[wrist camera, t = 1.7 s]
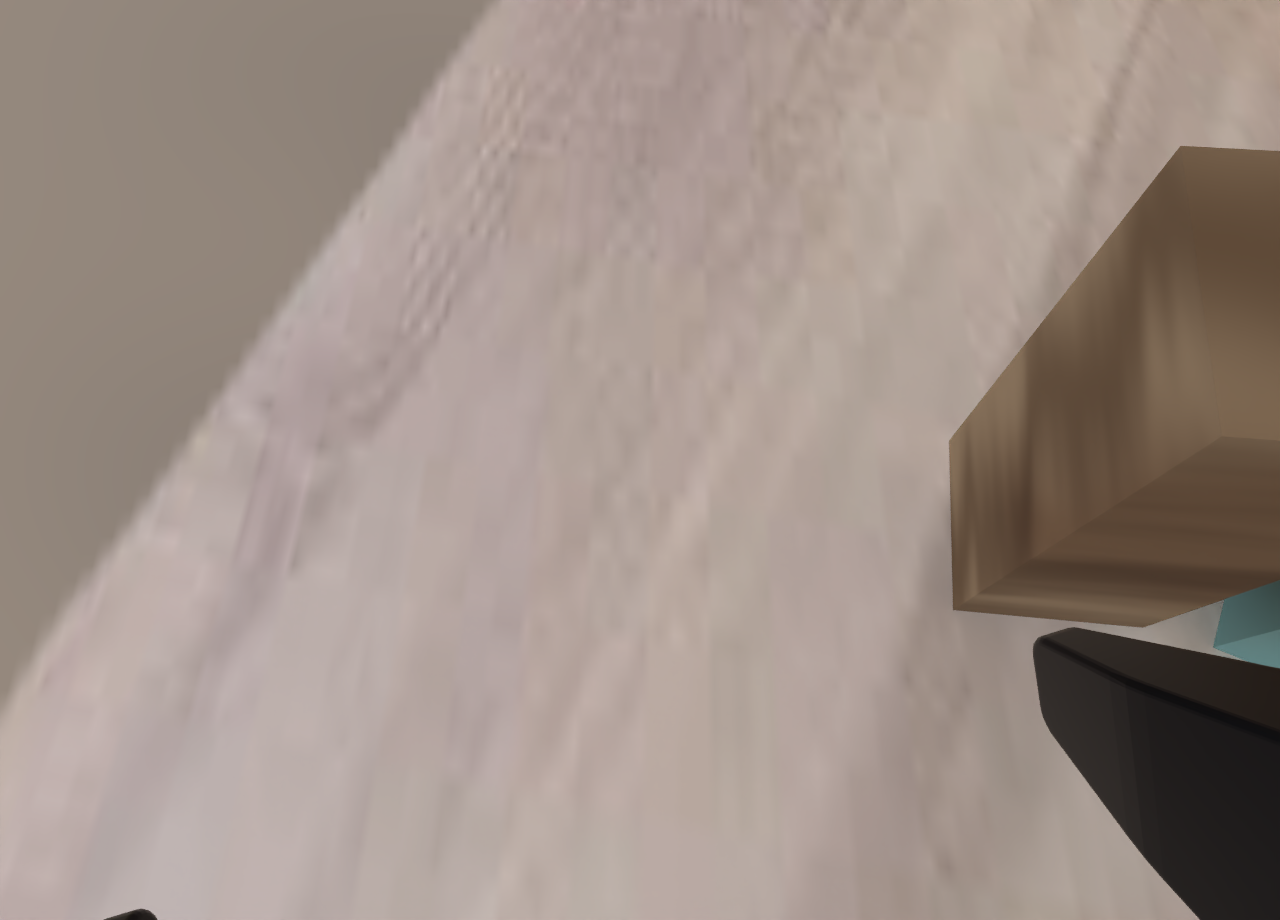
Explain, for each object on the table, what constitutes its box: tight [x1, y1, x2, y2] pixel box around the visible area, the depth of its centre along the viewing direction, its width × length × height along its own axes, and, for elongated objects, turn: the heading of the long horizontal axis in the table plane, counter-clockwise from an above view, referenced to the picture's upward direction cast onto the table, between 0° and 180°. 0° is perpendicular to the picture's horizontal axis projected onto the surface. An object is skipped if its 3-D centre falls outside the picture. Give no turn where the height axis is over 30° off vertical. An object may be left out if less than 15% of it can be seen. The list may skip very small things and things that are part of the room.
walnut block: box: [949, 146, 1280, 627], centre depth 19 cm, size 5×5×12 cm
